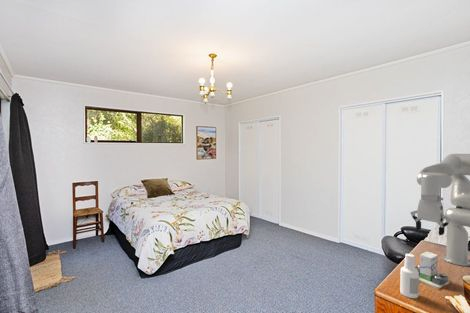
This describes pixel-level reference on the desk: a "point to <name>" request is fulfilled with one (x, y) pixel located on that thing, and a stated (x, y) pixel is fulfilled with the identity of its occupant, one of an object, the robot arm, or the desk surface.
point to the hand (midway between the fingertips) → (429, 232)
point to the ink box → (428, 265)
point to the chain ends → (436, 277)
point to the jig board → (432, 283)
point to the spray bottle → (409, 278)
